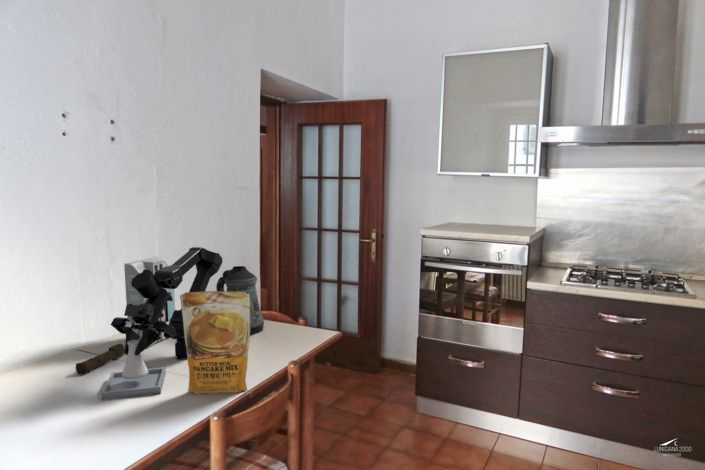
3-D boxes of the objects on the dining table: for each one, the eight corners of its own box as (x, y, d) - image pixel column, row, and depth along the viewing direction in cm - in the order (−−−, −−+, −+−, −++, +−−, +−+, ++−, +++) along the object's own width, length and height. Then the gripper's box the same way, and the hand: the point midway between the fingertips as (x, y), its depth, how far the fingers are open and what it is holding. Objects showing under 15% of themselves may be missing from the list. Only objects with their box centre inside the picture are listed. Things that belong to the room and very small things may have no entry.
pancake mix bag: (187, 385, 145) (183, 290, 142) (254, 384, 145) (251, 289, 142) (180, 395, 138) (175, 295, 135) (250, 394, 139) (247, 294, 136)
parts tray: (165, 373, 154) (165, 367, 153) (160, 393, 139) (160, 386, 139) (112, 379, 150) (111, 372, 150) (101, 400, 135) (100, 393, 135)
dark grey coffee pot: (259, 336, 189) (258, 271, 186) (208, 336, 189) (205, 271, 187) (267, 324, 206) (266, 263, 203) (220, 324, 206) (218, 263, 203)
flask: (120, 373, 146) (118, 339, 145) (147, 368, 149) (145, 336, 148) (122, 382, 140) (120, 347, 138) (150, 377, 143) (148, 343, 142)
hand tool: (85, 376, 153) (84, 361, 152) (75, 374, 154) (74, 360, 153) (131, 355, 170) (130, 342, 170) (121, 354, 172) (121, 341, 171)
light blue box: (146, 349, 176) (142, 264, 173) (128, 347, 178) (123, 263, 175) (176, 335, 191) (173, 257, 188) (159, 333, 194) (155, 256, 190)
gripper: (112, 290, 148) (86, 338, 139) (167, 294, 143) (143, 344, 134) (133, 309, 156) (109, 356, 147) (185, 313, 151) (164, 362, 142)
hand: (130, 354), depth 142 cm, fingers closed on flask, 3 cm apart
